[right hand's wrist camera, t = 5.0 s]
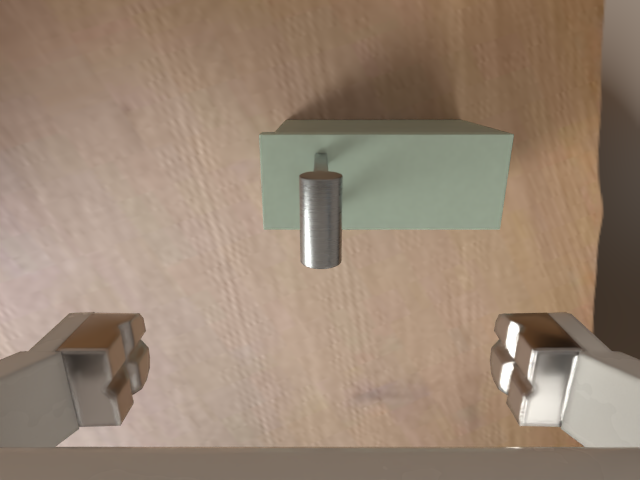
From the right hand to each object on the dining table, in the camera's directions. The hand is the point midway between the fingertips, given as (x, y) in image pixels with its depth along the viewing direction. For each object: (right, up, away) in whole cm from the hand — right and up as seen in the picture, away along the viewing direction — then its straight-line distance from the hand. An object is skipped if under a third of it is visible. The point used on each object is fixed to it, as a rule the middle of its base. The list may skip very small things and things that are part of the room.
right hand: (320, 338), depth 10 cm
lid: (+4, +6, +16) cm, 18 cm away
